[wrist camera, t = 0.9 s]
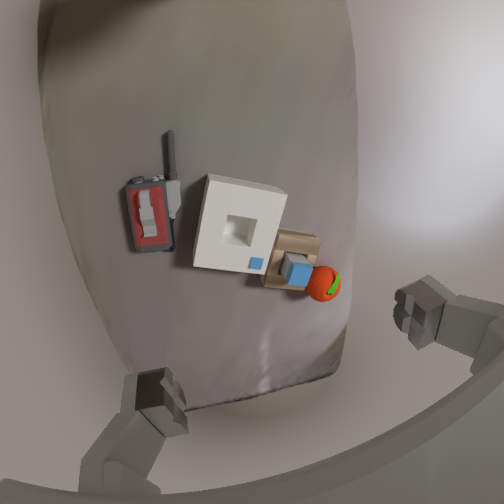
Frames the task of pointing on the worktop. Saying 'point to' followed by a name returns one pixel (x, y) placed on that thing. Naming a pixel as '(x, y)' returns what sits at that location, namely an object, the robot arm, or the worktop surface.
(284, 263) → the plug
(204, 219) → the port
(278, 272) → the holster
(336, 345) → the worktop surface
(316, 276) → the clementine
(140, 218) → the walkie-talkie
